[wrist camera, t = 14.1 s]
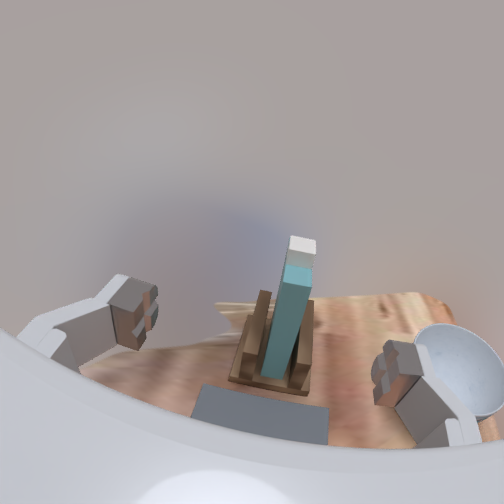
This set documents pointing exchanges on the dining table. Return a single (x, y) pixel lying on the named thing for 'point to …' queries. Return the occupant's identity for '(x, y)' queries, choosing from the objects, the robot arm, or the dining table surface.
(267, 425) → the mat
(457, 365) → the chinaware
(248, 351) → the rack
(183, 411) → the dining table surface
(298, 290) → the teal rectangular block
